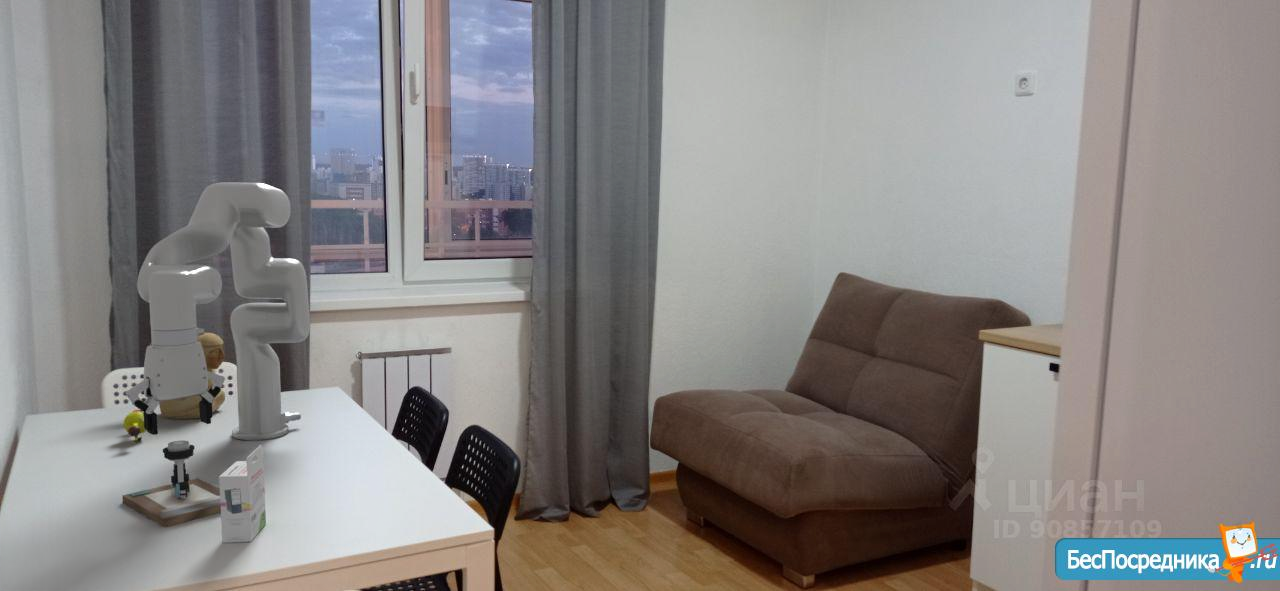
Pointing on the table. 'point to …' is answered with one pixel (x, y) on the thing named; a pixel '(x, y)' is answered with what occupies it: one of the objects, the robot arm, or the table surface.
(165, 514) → the brown flat wooden tray
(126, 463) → the table surface
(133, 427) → the toy figure
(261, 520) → the ink box
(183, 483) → the push button
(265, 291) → the robot arm
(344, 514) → the table surface
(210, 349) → the ceramic vessel
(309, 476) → the table surface
